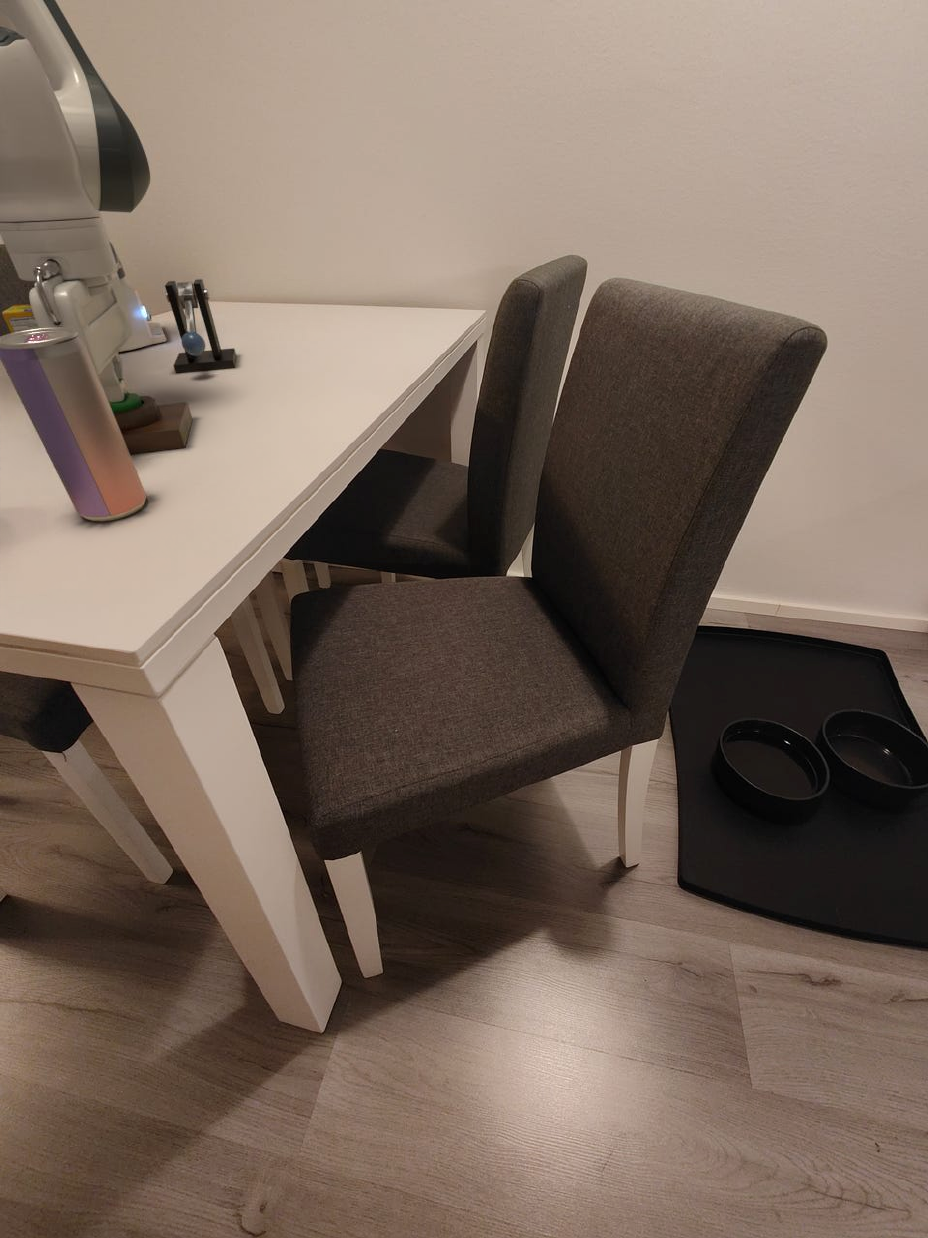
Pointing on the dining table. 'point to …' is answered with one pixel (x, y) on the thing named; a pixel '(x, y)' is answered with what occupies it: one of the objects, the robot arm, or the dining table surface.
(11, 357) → the beverage can
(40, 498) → the dining table surface
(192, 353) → the switch lever
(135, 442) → the button block
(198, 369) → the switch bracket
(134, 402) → the light button
